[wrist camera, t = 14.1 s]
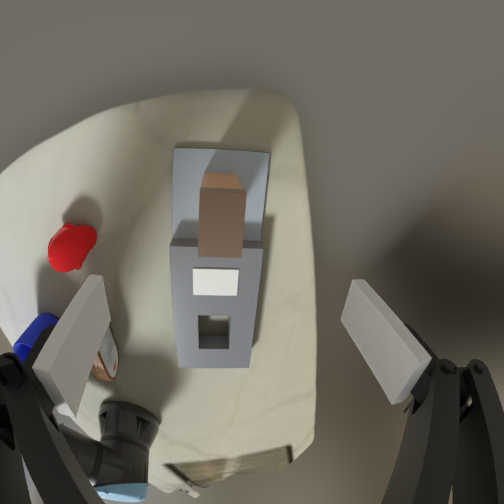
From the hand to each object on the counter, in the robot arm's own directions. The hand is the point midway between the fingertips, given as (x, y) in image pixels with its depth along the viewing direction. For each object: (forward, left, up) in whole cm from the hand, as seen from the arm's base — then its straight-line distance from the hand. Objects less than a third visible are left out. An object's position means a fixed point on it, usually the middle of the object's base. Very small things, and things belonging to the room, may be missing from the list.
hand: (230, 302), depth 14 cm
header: (0, -17, -24) cm, 30 cm away
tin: (-19, -23, -25) cm, 39 cm away
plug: (0, 0, -24) cm, 24 cm away
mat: (0, 0, -24) cm, 24 cm away
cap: (-21, -7, -25) cm, 33 cm away
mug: (-32, -26, -25) cm, 48 cm away
